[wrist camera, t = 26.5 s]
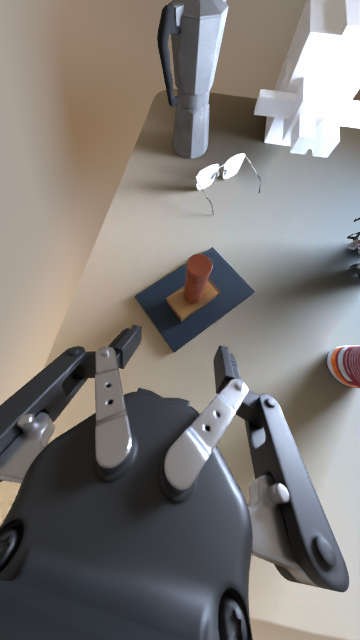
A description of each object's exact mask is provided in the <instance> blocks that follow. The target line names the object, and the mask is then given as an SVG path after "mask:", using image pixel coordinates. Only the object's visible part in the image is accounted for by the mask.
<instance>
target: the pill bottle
mask: <svg viewBox="0 0 360 640" xmlns="http://www.w3.org/2000/svg"><path fill="white" fill-rule="evenodd" d="M327 364H328V367H329V370H330V372H331V373H332V375H333V376H334V377H335V378H336V379H337V380H338V381H340V382H341V383H343V384H345V385H347V386H351V387H356V388H360V345H351V346H339V347H336V348H334V349H333V350H331V351H330V353H329V355H328V359H327Z"/></svg>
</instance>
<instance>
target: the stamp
mask: <svg viewBox="0 0 360 640" xmlns="http://www.w3.org/2000/svg"><path fill="white" fill-rule="evenodd" d="M211 270H212V261H211V260H210V258H209V257H207V256H205V255H203V254H196V255H193V256H191V257H190V258H189V260H188V261H187V269H186V279H185V286H184V287H183V288H181V289H179V290H178V291H176V292H175V293H173V294H172V295H170V296H169V297H167V298H166V299H167V303H168V305H169V307H170V308H171V310H172V311H173V312H174V314H175V315H176V316H177V318H178V319H179V320H180V322H181V323H182V322H183V321H185V320H186V319H188V318H189V317H190V316H192V315H193V314H195V313H196V312H197V311H199V310H200V309H202V308H203V307H205V306H206V305H207V304H209V303H210V302H212V301H213V299H214V298H215V297H216V296H217V294H218V292H217V291H216V290H215V289H214V288H213V286H212V285H211V284H210V283H209V282H208V281H207V280H208V278H209V275H210V273H211Z"/></svg>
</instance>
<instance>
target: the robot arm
mask: <svg viewBox="0 0 360 640" xmlns="http://www.w3.org/2000/svg"><path fill="white" fill-rule="evenodd" d="M141 333H142V327H141V326H138V325H133V326H132V327H131V328H130V329H129V328H127V329H125V330H123V331H122V332H121V333H120V334H119V335H118V336H117V337H116V338H115V339H114V340H113V342H112V343H111V344H110V345H109V346H108V347H103V348H101V349H99V350H98V351H97V352H85V349H84V348H83V347H79V346H77V347H72V348H69V349H67V350H66V351H65V352H64V353H62V354H61V355H60V356H59V357H58V358H56V359H55V360H54V361H53V362H52V363H50V364H49V365H48V366H47V367H46V368H44V369H43V370H42V371H41V372H40V373H38V374H37V375H36V376H35V377H34V378H33V379H31V380H30V381H29V382H28V383H27V384H25V385H24V386H23V387H22V388H21V389H19V390H18V391H17V392H16V393H15V394H14V395H12V396H11V397H10V398H9V399H7V400H6V401H5V402H4V403H3V404H2V405H0V482H1V481H3V480H5V481H10V482H15V483H21V486H20V489H19V492H18V494H17V496H16V499H15V501H14V503H13V505H12V507H11V509H10V511H9V513H8V514H7V516H6V518H5V520H4V521H3V523H2V525H1V526H0V640H253V639H252V632H251V625H250V617H249V604H248V583H249V568H250V560H251V554H252V555H254V556H257V557H259V558H262V559H264V560H266V561H269V562H271V563H273V564H274V565H275V567H276V568H277V570H278V571H279V572H280V574H281V575H282V576H283V577H284V578H285V579H287V580H289V581H292V582H297V583H301V584H306V585H311V586H315V587H320V588H324V589H329V590H334V591H338V592H345V591H346V590H347V589H348V586H349V576H348V571H347V567H346V564H345V561H344V559H343V556H342V554H341V552H340V549H339V547H338V544H337V542H336V540H335V537H334V535H333V532H332V530H331V528H330V525H329V523H328V520H327V518H326V516H325V513H324V511H323V508H322V506H321V504H320V501H319V499H318V496H317V494H316V492H315V489H314V487H313V484H312V482H311V480H310V477H309V475H308V472H307V470H306V468H305V465H304V463H303V460H302V458H301V456H300V453H299V451H298V448H297V446H296V444H295V441H294V439H293V436H292V434H291V432H290V429H289V427H288V424H287V422H286V419H285V417H284V415H283V412H282V410H281V407H280V405H279V404H278V402H277V401H276V400H275V399H274V398H273V397H272V396H270V395H268V394H261V395H260V396H258V395H257V394H255V393H253V392H251V391H249V390H248V387H247V386H246V384H245V383H244V382H243V381H241V377H240V373H239V370H238V367H237V362H236V359H235V357H234V356H233V354H231V353H229V350H228V347H224V346H219V348H218V350H217V352H216V355H215V357H214V372H215V384H216V393H217V395H216V397H215V398H214V399H213V400H212V401H211V402H210V404H209V405H208V406H207V407H206V408H205V409H204V410H203V412H202V413H201V414H199V413H198V412H197V411H196V410H195V409H194V408H192V407H191V406H190V401H187V400H184V399H180V398H163V397H161V396H159V395H157V394H155V393H154V392H152V391H149V390H145V389H142V388H139V389H138V391H137V392H131V393H128V394H125V395H123V390H122V384H121V379H120V373H119V368H121V369H124V367H125V366H126V364H127V363H128V361H129V359H130V358H131V356H132V355H133V353H134V352H135V350H136V349H137V347H138V346H139V344H140V342H141ZM88 378H95V398H96V413H94V414H93V415H91V416H90V417H88V418H87V419H85V420H84V421H82V422H80V423H79V424H77V425H76V426H74V427H73V428H71V429H70V430H68V431H66V432H65V433H63V434H62V435H60V436H59V437H57V438H56V439H54V440H53V441H52V442H50V443H49V444H48V441H49V439H50V437H51V435H52V434H53V432H54V428H55V426H54V423H53V422H54V421H55V420H56V419H57V417H58V416H59V415H60V413H61V412H62V411H63V410H64V408H65V407H66V406H67V405H68V403H69V402H70V401H71V399H72V398H73V397H74V396H75V394H76V393H77V392H78V391H79V389H80V388H81V387H82V385H83V384H84V383H85V382H86V380H87V379H88ZM235 414H236V415H238V416H240V417H241V418H243V419H244V420H245V425H246V431H247V436H248V442H249V447H250V453H251V458H252V464H253V470H254V475H255V480H253V481H252V482H251V484H250V487H249V495H250V498H249V503H248V506H247V503H246V500H245V498H244V495H243V493H242V491H241V489H240V487H239V486H238V484H237V482H236V480H235V478H234V476H233V474H232V473H231V471H230V469H229V467H228V465H227V463H226V461H225V460H224V458H223V456H222V454H221V452H220V450H219V448H218V447H217V445H216V444H217V443H218V441H219V440H220V438H221V436H222V435H223V433H224V432H225V430H226V428H227V427H228V425H229V424H230V422H231V420H232V419H233V417H234V416H235ZM47 444H48V445H47Z"/></svg>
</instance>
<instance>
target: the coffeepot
mask: <svg viewBox="0 0 360 640" xmlns="http://www.w3.org/2000/svg"><path fill="white" fill-rule="evenodd" d="M227 11H228V5H227V4H226V0H173V1H172V2H170V3H169V4H168V5H166V6H165V7H164V8H163V10H162V14H161V19H160V24H159V29H158V37H157V39H158V48H159V54H160V59H161V64H162V69H163V74H164V79H165V85H166V90H167V95H168V101H169V105H170V106H171V107H173V106H175V105H176V110H175V122H174V133H173V145H172V146H173V148H174V150H175V152H176V153H177V154H178V155H180V156H182V157H185V158H197V157H200V156H202V155H203V154H204V153H205V152H206V149H207V147H208V130H209V103H208V101H209V92H210V89H211V87H212V85H213V80H214V75H215V70H216V65H217V59H218V55H219V50H220V45H221V40H222V35H223V30H224V25H225V21H226V16H227ZM169 34H171V40H172V51H173V63H174V75H175V84H176V86H177V88H178V96H175V97H174V95H173V79H172V75H171V70H170V58H169V49H168V38H169Z"/></svg>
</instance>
